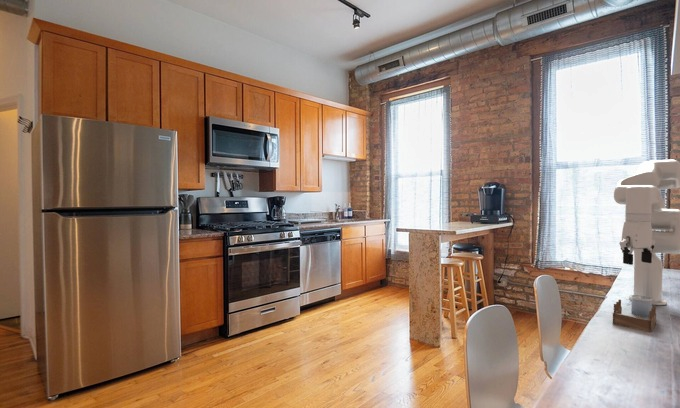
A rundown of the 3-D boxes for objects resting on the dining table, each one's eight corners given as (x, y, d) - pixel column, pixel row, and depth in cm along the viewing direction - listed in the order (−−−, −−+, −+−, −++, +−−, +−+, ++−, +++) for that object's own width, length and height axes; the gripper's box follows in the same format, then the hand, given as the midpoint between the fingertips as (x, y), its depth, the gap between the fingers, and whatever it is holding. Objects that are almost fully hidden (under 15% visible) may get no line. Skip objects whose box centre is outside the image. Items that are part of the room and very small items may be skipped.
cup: (632, 311, 144) (633, 294, 144) (652, 315, 139) (653, 297, 139) (629, 314, 140) (630, 297, 140) (650, 318, 135) (650, 300, 135)
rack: (619, 316, 138) (619, 298, 137) (656, 323, 130) (656, 304, 129) (612, 323, 130) (612, 305, 129) (651, 332, 122) (651, 312, 121)
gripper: (643, 217, 140) (642, 260, 140) (611, 218, 135) (610, 262, 135) (665, 218, 133) (664, 263, 133) (632, 219, 128) (631, 266, 128)
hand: (637, 263), depth 134 cm, fingers open, 9 cm apart
